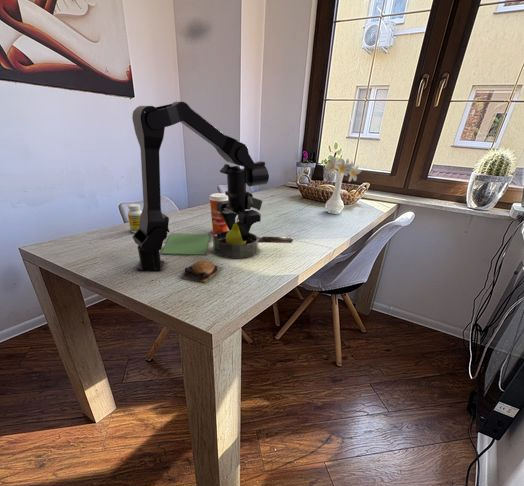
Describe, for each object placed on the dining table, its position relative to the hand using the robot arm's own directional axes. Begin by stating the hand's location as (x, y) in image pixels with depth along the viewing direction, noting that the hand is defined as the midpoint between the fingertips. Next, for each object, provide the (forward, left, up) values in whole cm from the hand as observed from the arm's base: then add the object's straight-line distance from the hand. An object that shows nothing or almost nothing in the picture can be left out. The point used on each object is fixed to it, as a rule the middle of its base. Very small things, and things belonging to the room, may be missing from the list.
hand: (238, 237), depth 104 cm
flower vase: (+57, -50, -5) cm, 76 cm away
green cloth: (+5, +18, -5) cm, 19 cm away
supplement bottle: (+18, +38, -5) cm, 42 cm away
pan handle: (0, -12, -1) cm, 12 cm away
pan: (0, +1, -5) cm, 5 cm away
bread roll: (-19, +11, -5) cm, 23 cm away
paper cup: (+19, +7, -5) cm, 20 cm away
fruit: (0, +1, -4) cm, 4 cm away
